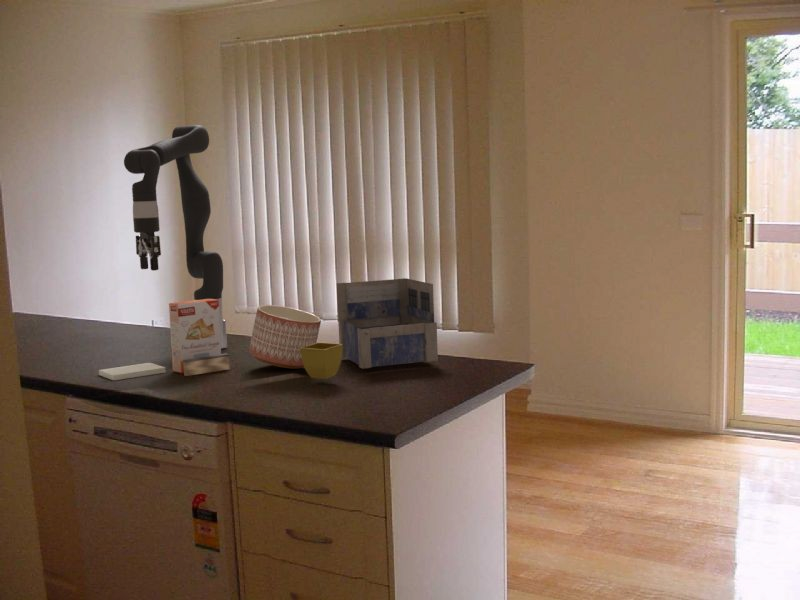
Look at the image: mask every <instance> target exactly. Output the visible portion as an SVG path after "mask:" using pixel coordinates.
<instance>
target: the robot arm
mask: <svg viewBox="0 0 800 600" xmlns="http://www.w3.org/2000/svg"><path fill="white" fill-rule="evenodd" d="M209 145H210V135H209V132H208V131H207V129H206V128H205V126H202V125H198V124H192V125H180V126H175V128H173V130H172V133H171V138H167V139H164V140H159V141H157V142H155V143H153V144H151V145H148V146H145V147H143V146H142V147H139V148H134V149H132V150H130V151H128V152H127V153H126V154H125V156H124V159H123V165H124V167H125V169H126V171H127V172H129V173H131V174H135V175H138V174H139V175H140V174H141V175H143V174H144V175H143V177H142V179H141V180H140V181H137V182H134V183H132V187H131V190H132V191H131V192H132V193H131V194H132V219H133V231H134V233H136V234H137V233H139V235H138V234H137V235H135V248H136V249H135V250H136V251H135V252H136V255H137V256H138V258H139V263H140V269H141V270H148V269H149V264H150V270H151V271H159V269H160V268H159V257H160V256H162V251H161V241H160V240H161V239H160V236H159V235H155V234H156V233H158V232H159V231H160V218H159V217H160V216H159V215H160V214H159V206H158V199H157V184H158V178H159V174H160V169H161V167H162V166H164V165H166V164H168V163H170V162H172V161H174V160H175V164H176V169H177V174H178V179H179V181H178V182H179V187H180V197H181V207H182V214H183V220H184V222H183V223H184V231H185V232H184V233H185V252H186V253H185V257H186V259H185V260H186V269H187V272H188V274H189V276H191V277H192V278H194V279H202V286H200V288H198V289H196V290H194V292H193V300H203V299H216V300H219V319H220V340H221V350H222V349H226V348H228V339H227V325H226V324H227V323H226V322H227V321H226V320H225V319H224V315H223V298H222V297H223V289H224V263H223V259H222V257H221V255H220V254H219V253H218V252H216V251H205V247H204V234H205V231H206V227H207V225H208V222H209V220H210V217H211V212H212V211H211V210H212V209H211V199H210V194H209V191H208V188H207V186H206V185H205V184H204V182H203V181H202V180H201V178H200V177H199V176H198V174H197V173H196V171H195V169H194V167H193V165H192V164H193V163H192V161H191V155H193V154H201V153H203V152H205V151H206V150H207V149H208V147H209ZM148 255H149V258H148Z"/></svg>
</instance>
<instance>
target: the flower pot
mask: <svg viewBox="0 0 800 600" xmlns="http://www.w3.org/2000/svg"><path fill="white" fill-rule="evenodd" d="M300 350H301V356H302V361H303V365H304V367H303V368H304V369H305V372H306V373H307V374H308V376H309V377H310V378H312V379H321V380H325V379H328V378H332V377H334V376H336V374H337V373H338V371H339V369H340V366H341V362H342V357H341V356H342V344H339V343H331V342H330V343H329V342H316V343H315V344H312V345H308V346H304V347H301V348H300Z"/></svg>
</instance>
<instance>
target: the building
mask: <svg viewBox="0 0 800 600" xmlns="http://www.w3.org/2000/svg"><path fill="white" fill-rule="evenodd" d="M336 301H337V318H338V319H337V320H338V323H337V324H338V342H339V343H338V344H342V356H341V359H344V358H346V359H348V360H350V361H351V362H353V363H355V364H356V365H358V367H359V368H361V369H372V368H374V367H382V366H383V367H384V366H393V365H401V364H412V363H413V364H414V363H422V362H424V363H425V362H426V363H427V362H428V363H429V362H436V361H437V362H438V361H439V357H438V356H439V352H438V350H439V349H438V326H437V321H435V305H434V303H435V302H434V284H433V283H430V282H429V283H428V282H424V281H421V280H417V279H412V278H406V277H405V278H404V277H403V278H397V279H394V278H393V279H382V280H381V279H380V280H378V279H377V280H368V281H367V280H366V281H355V282H354V281H353V282H351V281H350V282H338V283H336Z"/></svg>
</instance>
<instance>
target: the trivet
mask: <svg viewBox="0 0 800 600" xmlns="http://www.w3.org/2000/svg"><path fill="white" fill-rule="evenodd" d="M166 372H167V370H166V366H161V365H159V364H157V363H152V362H145V363H137V364H132V365H131V364H130V365H125V366H119V367H118V366H117V367H110V368H104V369H98V375H99V376H101V377H103V378H105V379H109V380H111V381H118V380H119V381H120V380H125V379H132V378H139V377H144V376H152V375H159V374H164V373H166Z"/></svg>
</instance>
